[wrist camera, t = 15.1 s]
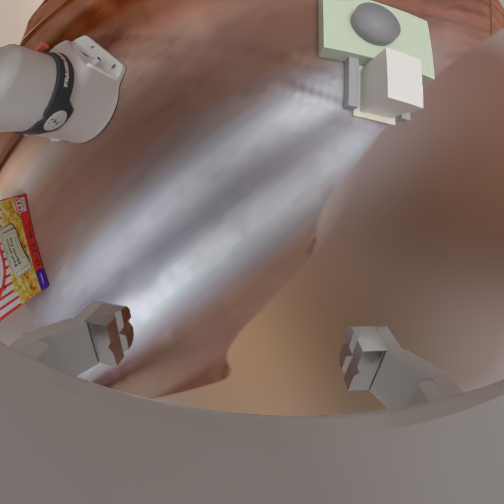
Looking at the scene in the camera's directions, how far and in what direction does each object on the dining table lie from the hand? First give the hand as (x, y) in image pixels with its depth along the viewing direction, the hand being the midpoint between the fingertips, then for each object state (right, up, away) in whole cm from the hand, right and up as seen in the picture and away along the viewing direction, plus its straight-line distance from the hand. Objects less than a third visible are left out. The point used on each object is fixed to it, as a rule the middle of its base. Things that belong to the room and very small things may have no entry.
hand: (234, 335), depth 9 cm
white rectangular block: (+19, +27, +23) cm, 40 cm away
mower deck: (+19, +32, +21) cm, 43 cm away
